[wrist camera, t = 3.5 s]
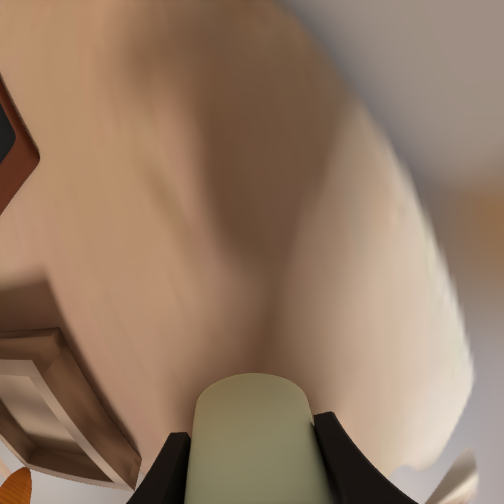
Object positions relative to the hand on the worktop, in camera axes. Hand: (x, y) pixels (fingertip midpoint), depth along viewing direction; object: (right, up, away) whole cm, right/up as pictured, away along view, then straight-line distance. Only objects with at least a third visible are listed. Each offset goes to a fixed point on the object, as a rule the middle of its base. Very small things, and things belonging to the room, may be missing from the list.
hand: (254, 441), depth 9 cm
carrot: (-29, -21, +14) cm, 39 cm away
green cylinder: (0, 0, +1) cm, 2 cm away
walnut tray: (-17, -6, +9) cm, 20 cm away
